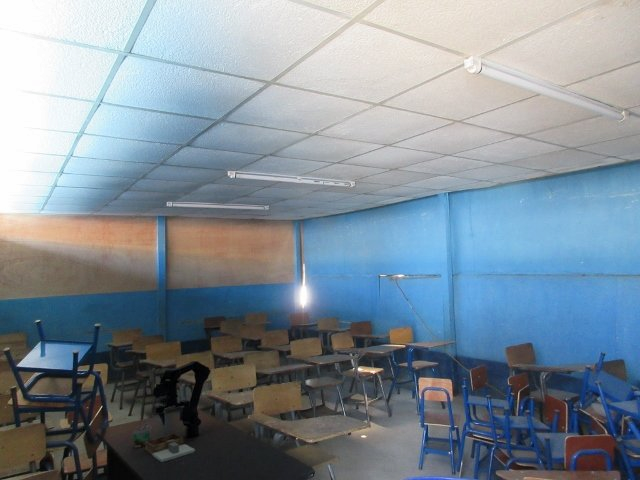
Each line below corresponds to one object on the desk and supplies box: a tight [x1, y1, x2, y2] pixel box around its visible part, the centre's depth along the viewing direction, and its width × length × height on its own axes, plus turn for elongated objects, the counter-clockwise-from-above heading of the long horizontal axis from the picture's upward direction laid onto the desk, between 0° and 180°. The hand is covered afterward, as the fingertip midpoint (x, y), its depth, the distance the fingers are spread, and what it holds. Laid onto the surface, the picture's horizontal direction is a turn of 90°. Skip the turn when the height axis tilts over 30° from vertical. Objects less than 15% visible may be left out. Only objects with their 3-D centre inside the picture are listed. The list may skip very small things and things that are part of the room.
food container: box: [132, 422, 153, 449], centre depth 236 cm, size 12×6×10 cm, turn 168°
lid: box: [152, 442, 196, 463], centre depth 219 cm, size 17×12×6 cm
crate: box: [144, 433, 184, 456], centre depth 228 cm, size 16×11×5 cm
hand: (172, 422), depth 234 cm, fingers open, 9 cm apart
